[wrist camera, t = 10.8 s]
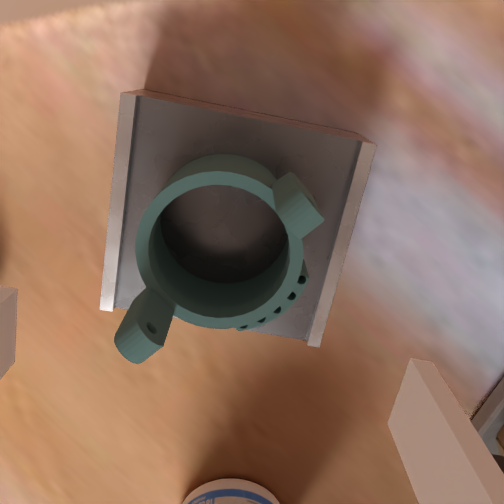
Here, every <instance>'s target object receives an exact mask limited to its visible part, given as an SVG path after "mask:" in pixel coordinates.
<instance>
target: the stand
mask: <svg viewBox="0 0 504 504" xmlns="http://www.w3.org/2000/svg"><path fill="white" fill-rule="evenodd" d="M376 146H377V145H376V144H374V143H373V142H371V141H369V140H367V139H366V138H364V137H362V136H361V135H359V134H357V133H354V132H349V131H344V130H339V129H335V128H330V127H325V126H320V125H315V124H310V123H305V122H301V121H296V120H291V119H286V118H281V117H276V116H271V115H266V114H262V113H257V112H252V111H247V110H242V109H237V108H232V107H228V106H223V105H218V104H213V103H208V102H203V101H198V100H193V99H189V98H184V97H179V96H174V95H169V94H164V93H159V92H154V91H150V90H145V89H141V90H135V91H128V92H122V93H121V95H120V106H119V116H118V126H117V136H116V146H115V157H114V167H113V177H112V187H111V198H110V208H109V218H108V228H107V238H106V249H105V259H104V269H103V279H102V290H101V300H100V310H105V311H111V312H113V310H114V308H115V307H116V308H122V309H129V307H130V305H131V303H132V301H133V300H134V299H135V298H136V297H137V296H138V295H139V294H140V293H141V292H142V291H143V290H144V289H145V288H146V286H145V284H144V282H143V280H142V278H141V276H140V273H139V269H138V266H137V261H136V254H135V244H136V235H137V231H138V226H139V224H140V221H141V219H142V217H143V214H144V212H145V211H146V209H147V208H148V206H149V205H150V203H151V202H152V200H153V199H154V198H155V197H156V195H157V194H158V193H159V192H160V190H161V189H162V188H163V187H164V185H165V184H166V183H167V182H168V180H169V179H170V178H171V177H172V175H173V174H175V173H176V172H177V171H178V170H179V169H180V168H181V167H183V166H185V165H186V164H188V163H190V162H191V161H193V160H196V159H199V158H201V157H204V156H209V155H215V154H233V155H238V156H243V157H246V158H249V159H251V160H254V161H256V162H258V163H260V164H261V165H263V166H264V167H266V168H267V169H268V170H269V171H270V172H271V173H272V175H273V176H274V177H275V178H276V179H277V180H278V179H279V178H281V177H282V176H284V175H285V174H287V173H289V172H292V173H294V174H295V175H296V176H297V178H298V179H299V180H300V181H301V183H302V184H303V185H304V186H305V187H306V189H307V190H308V191H309V192H310V194H311V195H312V196H313V197H314V199H315V201H316V204H317V206H318V208H319V210H320V212H321V214H322V216H323V218H324V222H322V223H321V224H320V225H319V226H317V227H316V228H315V229H313V230H312V231H311V232H310V233H308V234H307V235H306V236H304V237H303V238H302V240H303V259H304V260H305V263H306V267H307V271H308V274H309V281H308V283H307V285H306V287H305V289H304V291H303V293H302V294H301V295H300V297H299V298H298V299H297V301H296V302H295V303H294V304H293V305H292V306H291V307H290V308H289V309H288V310H287V311H286V312H285V313H283V314H282V315H280V316H279V317H277V318H276V319H275V320H273V321H271V322H269V323H266V324H264V325H262V326H259V327H256V328H252V329H249V330H248V331H254V332H259V333H265V334H271V335H277V336H282V337H288V338H294V339H300V340H305V341H306V342H307V346H313V347H318V348H319V347H320V344H321V340H322V337H323V333H324V330H325V326H326V322H327V319H328V315H329V312H330V308H331V305H332V301H333V298H334V294H335V291H336V287H337V284H338V280H339V277H340V273H341V270H342V266H343V263H344V259H345V256H346V252H347V249H348V245H349V241H350V238H351V234H352V231H353V227H354V224H355V220H356V217H357V213H358V210H359V206H360V203H361V199H362V196H363V192H364V189H365V185H366V182H367V178H368V175H369V171H370V167H371V164H372V160H373V157H374V153H375V150H376ZM160 224H161V232H162V236H163V239H164V242H165V245H166V247H167V248H168V250H169V252H170V254H171V255H172V256H173V258H174V259H175V260H176V261H177V263H178V264H179V265H181V266H182V267H183V268H184V269H185V270H186V271H188V272H190V273H191V274H193V275H195V276H196V277H199V278H201V279H204V280H207V281H211V282H216V283H236V282H242V281H245V280H248V279H251V278H253V277H255V276H257V275H259V274H261V273H262V272H264V271H265V270H266V269H268V268H269V267H270V266H271V265H272V264H273V263H274V262H275V261H276V260H277V258H278V257H279V255H280V254H281V252H282V250H283V249H284V246H285V244H286V241H287V238H288V234H287V232H286V229H285V226H284V224H283V222H282V221H281V219H280V218H279V216H278V214H277V213H276V212H275V211H274V210H273V209H272V208H271V207H270V205H269V204H268V203H266V202H265V201H264V200H262V199H261V198H259V197H258V196H257V195H255V194H253V193H251V192H248V191H246V190H244V189H241V188H237V187H233V186H228V185H209V186H201V187H198V188H195V189H192V190H189V191H187V192H185V193H183V194H181V195H180V196H178V197H176V198H175V199H174V200H172V201H171V202H170V203H169V204H168V205H167V206H166V207H165V208H164V209H163V210H162V212H161V218H160ZM173 318H178V317H176V316H174V315H173ZM179 319H180V318H179Z"/></svg>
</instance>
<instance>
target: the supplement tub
mask: <svg viewBox="0 0 504 504" xmlns="http://www.w3.org/2000/svg"><path fill="white" fill-rule="evenodd" d="M182 504H280V503H279V502H278V500H277V499H276V498H275V496H274V495H273V494H272V493H271V492H269V491H268V490H267V489H265V488H264V487H262V486H260V485H258V484H256V483H253V482H251V481H247V480H242V479H219V480H214V481H211V482H208V483H205V484H203V485H201V486H200V487H198V488H196V489H195V490H194V491H192V492H191V493H190V494H189V495H188V496H187V497H186V499H185V500H184V502H183V503H182Z"/></svg>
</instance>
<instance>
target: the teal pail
mask: <svg viewBox="0 0 504 504" xmlns="http://www.w3.org/2000/svg"><path fill="white" fill-rule="evenodd" d="M209 185H228V186H233V187H237V188H241V189H244V190H246V191H248V192H251V193H253V194H255V195H257V196H258V197H259V198H261V199H262V200H264V201H265V202H266V203H268V204H269V205H270V207H271V208H272V209H273V210H274V211H275V212H276V213H277V214H278V216H279V218H280V219H281V221H282V222H283V224H284V226H285V229H286V232H287V234H288V238H287V241H286V244H285V246H284V249H283V250H282V252H281V254H280V255H279V257H278V258H277V260H276V261H275V262H274V263H273V264H272V265H271V266H270V267H269V268H268V269H266V270H265V271H264V272H262V273H261V274H259V275H257V276H255V277H253V278H251V279H248V280H245V281H242V282H236V283H216V282H211V281H207V280H204V279H201V278H199V277H196V276H195V275H193V274H191V273H190V272H188V271H186V270H185V269H184V268H183V267H182V266H181V265H179V264H178V263H177V261H176V260H175V259H174V258H173V256H172V255H171V254H170V252H169V250H168V248H167V247H166V245H165V242H164V239H163V236H162V232H161V224H160V218H161V212H162V210H163V209H164V208H165V207H166V206H167V205H168V204H169V203H170V202H171V201H172V200H174V199H175V198H176V197H178V196H180V195H181V194H183V193H185V192H187V191H189V190H192V189H195V188H198V187H201V186H209ZM322 222H324V218H323V216H322V214H321V212H320V210H319V208H318V206H317V204H316V201H315V199H314V197H313V196H312V195H311V194H310V192H309V191H308V190H307V189H306V187H305V186H304V185H303V184H302V183H301V181H300V180H299V179H298V178H297V176H296V175H295V174H294V173H292V172H289V173H287V174H285V175H284V176H282V177H281V178H279V179H278V180H277V179H276V178H275V177H274V176H273V175H272V173H271V172H270V171H269V170H268V169H267V168H266V167H264V166H263V165H261V164H260V163H258V162H256V161H254V160H251V159H249V158H246V157H243V156H238V155H233V154H215V155H209V156H204V157H201V158H199V159H196V160H193V161H191V162H190V163H188V164H186V165H185V166H183V167H181V168H180V169H179V170H178V171H177V172H176V173H175V174H173V175H172V177H171V178H170V179H169V180H168V182H167V183H166V184H165V185H164V187H163V188H162V189H161V190H160V192H159V193H158V194H157V195H156V197H155V198H154V199H153V200H152V202H151V203H150V205H149V206H148V208H147V209H146V211H145V212H144V214H143V217H142V219H141V221H140V224H139V226H138V231H137V235H136V244H135V254H136V261H137V266H138V269H139V273H140V276H141V278H142V280H143V282H144V284H145V286H146V288H145V289H144V290H143V291H142V292H141V293H140V294H139V295H138V296H137V297H136V298H135V299H134V300H133V301H132V303H131V305H130V307H129V309H128V311H127V313H126V315H125V317H124V319H123V321H122V322H121V324H120V326H119V328H118V330H117V332H116V334H115V338H114V342H115V345H116V347H117V349H118V350H119V352H120V353H121V354H122V355H123V356H124V357H125V358H126V359H127V360H129V361H130V362H132V363H136V364H139V363H142V362H143V361H145V360H146V359H147V358H149V357H150V356H151V355H152V354H154V353H155V352H156V351H158V350H159V349H160V348H161V347H163V346H164V342H165V339H166V336H167V333H168V330H169V327H170V324H171V321H172V318H173V315H174V316H176V317H178V318H180V319H182V320H184V321H186V322H188V323H191V324H194V325H197V326H201V327H207V328H215V329H228V328H236V329H237V330H238V331H243V330H249V329H252V328H256V327H259V326H262V325H264V324H266V323H269V322H271V321H273V320H275V319H276V318H277V317H279V316H280V315H282V314H283V313H285V312H286V311H287V310H288V309H289V308H290V307H291V306H292V305H293V304H294V303H295V302H296V301H297V299H298V298H299V297H300V295H301V294H302V293H303V291H304V289H305V287H306V285H307V283H308V281H309V274H308V271H307V267H306V263H305V260H304V259H303V240H302V238H303V237H304V236H306V235H307V234H308V233H310V232H311V231H312V230H313V229H315V228H316V227H317V226H319V225H320V224H321V223H322Z"/></svg>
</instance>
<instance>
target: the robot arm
mask: <svg viewBox="0 0 504 504" xmlns="http://www.w3.org/2000/svg"><path fill="white" fill-rule="evenodd" d="M17 291H18V289H16V288H10V287H5V286H0V379H1V378H2V377H3V375H4V374H5V373H6V372H7V371H8V369H9V368H10V367H11V366H12V365H13V363H14V362H15V347H16V319H17ZM387 424H388V426H389V429H390V432H391V434H392V437H393V439H394V442H395V444H396V447H397V450H398V452H399V455H400V457H401V460H402V462H403V465H404V467H405V470H406V473H407V475H408V478H409V480H410V483H411V485H412V488H413V490H414V493H415V496H416V498H417V501H418V503H419V504H504V457H503V456H501V455H495V454H491V453H490V452H489V450H488V448H487V447H486V445H485V444H484V442H483V440H482V439H481V437H480V436H479V434H478V433H477V431H476V429H475V428H474V426H473V425H472V423H471V422H470V420H469V418H468V417H467V415H466V414H465V412H464V411H463V409H462V407H461V406H460V404H459V403H458V401H457V400H456V398H455V396H454V395H453V393H452V392H451V390H450V389H449V387H448V385H447V384H446V382H445V381H444V379H443V378H442V376H441V374H440V373H439V371H438V370H437V368H436V366H435V365H434V363H433V362H432V361H426V360H421V359H415V358H410V361H409V364H408V367H407V370H406V372H405V375H404V378H403V381H402V384H401V386H400V389H399V392H398V395H397V398H396V400H395V403H394V406H393V409H392V412H391V414H390V417H389V420H388V423H387Z"/></svg>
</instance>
